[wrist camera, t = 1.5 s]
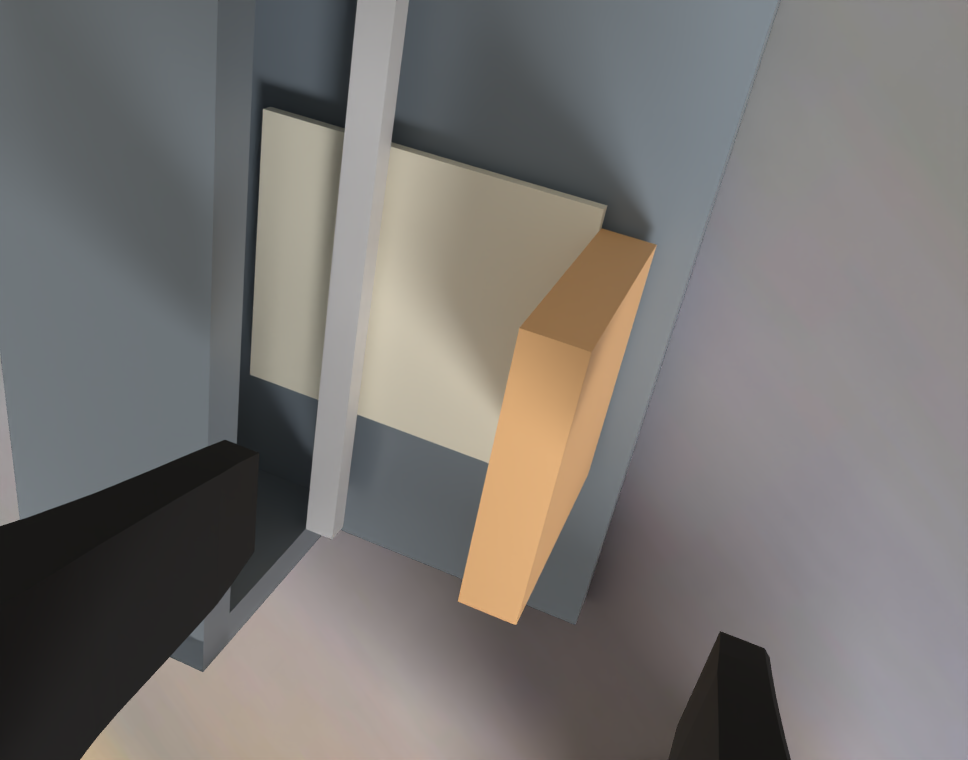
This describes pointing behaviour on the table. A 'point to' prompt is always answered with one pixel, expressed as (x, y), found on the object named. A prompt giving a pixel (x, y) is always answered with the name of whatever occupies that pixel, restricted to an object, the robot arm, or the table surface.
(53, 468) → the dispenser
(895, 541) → the table surface
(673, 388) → the table surface
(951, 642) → the table surface
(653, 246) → the two-tone bracket
